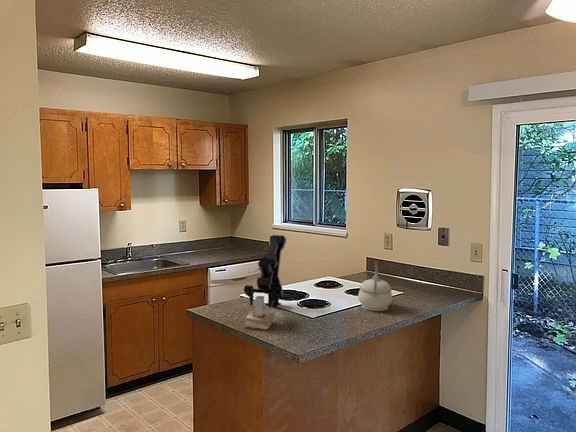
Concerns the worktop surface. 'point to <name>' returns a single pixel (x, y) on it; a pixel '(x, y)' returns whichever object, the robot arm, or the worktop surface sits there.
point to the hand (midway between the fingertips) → (260, 306)
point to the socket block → (259, 320)
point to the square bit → (259, 306)
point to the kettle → (375, 292)
